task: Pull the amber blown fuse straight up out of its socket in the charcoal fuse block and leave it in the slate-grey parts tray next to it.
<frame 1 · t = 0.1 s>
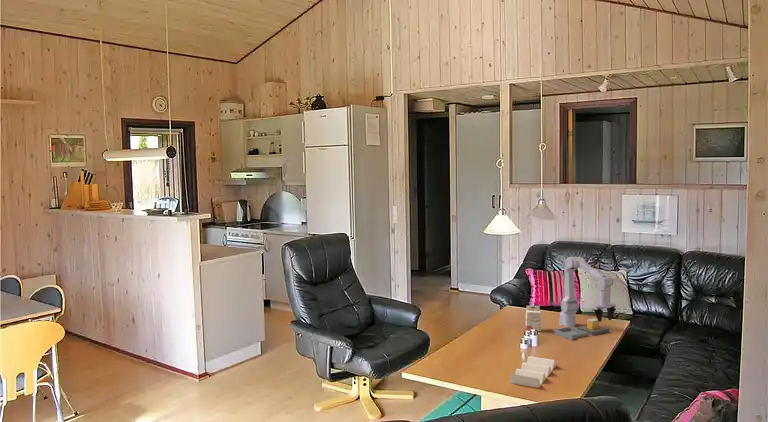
hand: (604, 320, 350), 10 cm above the table, fingers open, 7 cm apart
parts tray: (570, 335, 355), on the table
ink cartridge box: (533, 330, 368), on the table
fuse block: (592, 332, 361), on the table
file organizer: (534, 375, 293), on the table
fuse: (592, 331, 361), point 1 cm above the table, touching fuse block
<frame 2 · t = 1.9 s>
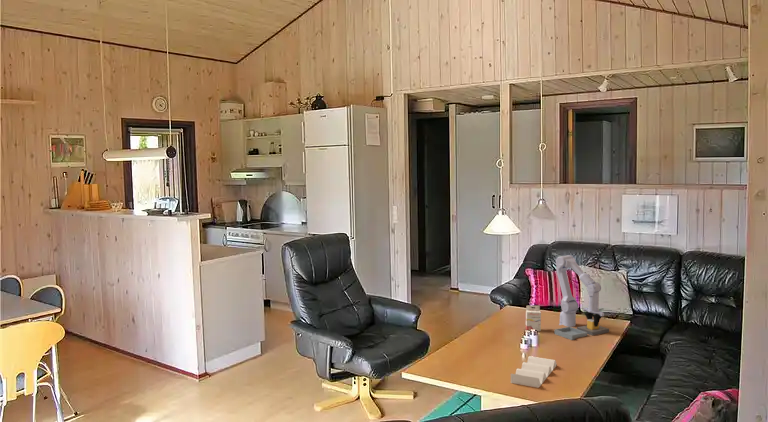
hand: (593, 325, 360), 4 cm above the table, fingers closed on fuse, 4 cm apart
fuse: (592, 331, 361), point 1 cm above the table, touching fuse block, gripper
everything else where it was.
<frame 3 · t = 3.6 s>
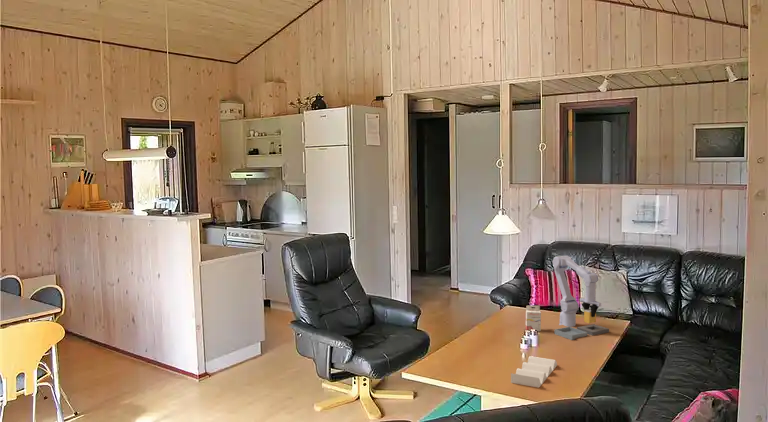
hand: (590, 315, 359), 10 cm above the table, fingers closed on fuse, 4 cm apart
fuse: (590, 321, 359), point 7 cm above the table, touching gripper
everything else where it was.
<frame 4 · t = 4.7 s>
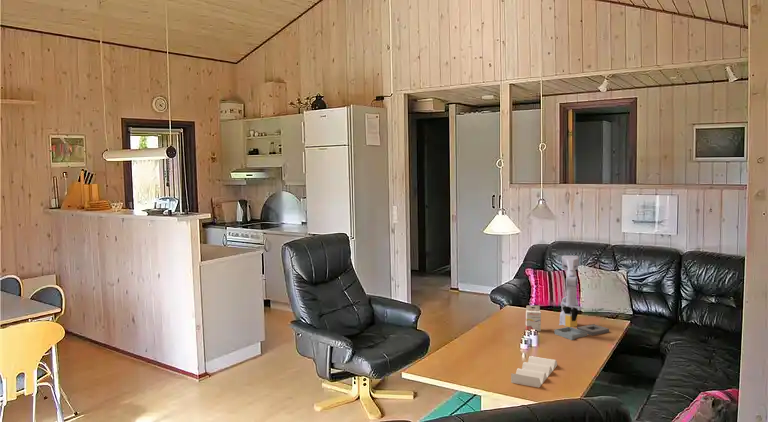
hand: (571, 319, 354), 9 cm above the table, fingers closed on fuse, 4 cm apart
fuse: (571, 325, 355), point 6 cm above the table, touching gripper
everything else where it was.
when the fingers open (6 cm above the table, at t = 5.7 s): fuse drops 1 cm, resting on parts tray.
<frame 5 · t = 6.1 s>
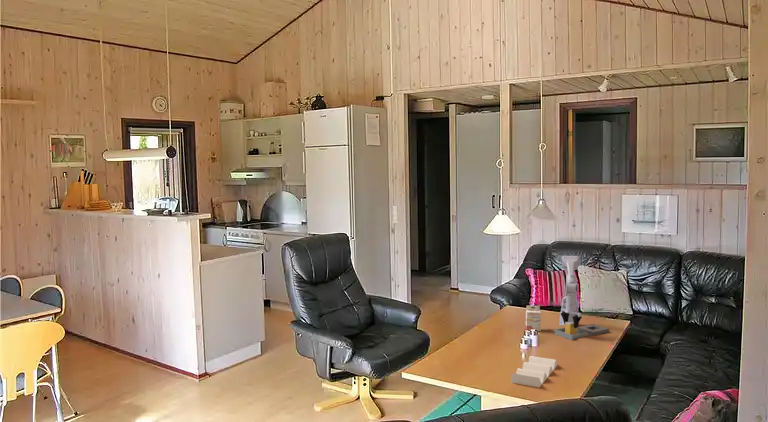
hand: (570, 326, 355), 6 cm above the table, fingers open, 7 cm apart
fuse: (570, 334, 355), point 1 cm above the table, touching parts tray
everything else where it was.
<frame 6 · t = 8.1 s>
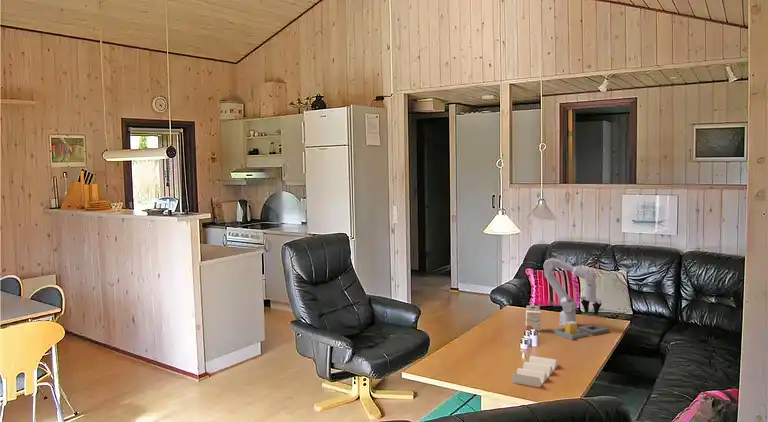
hand: (591, 313, 367), 10 cm above the table, fingers open, 7 cm apart
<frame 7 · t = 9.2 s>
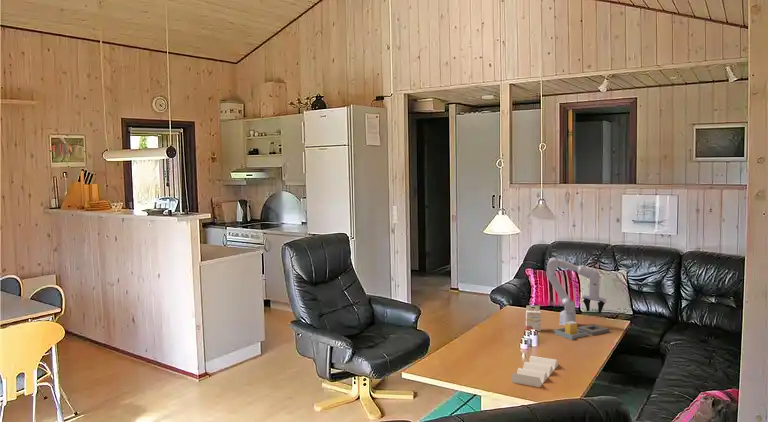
hand: (593, 312, 370), 10 cm above the table, fingers open, 7 cm apart
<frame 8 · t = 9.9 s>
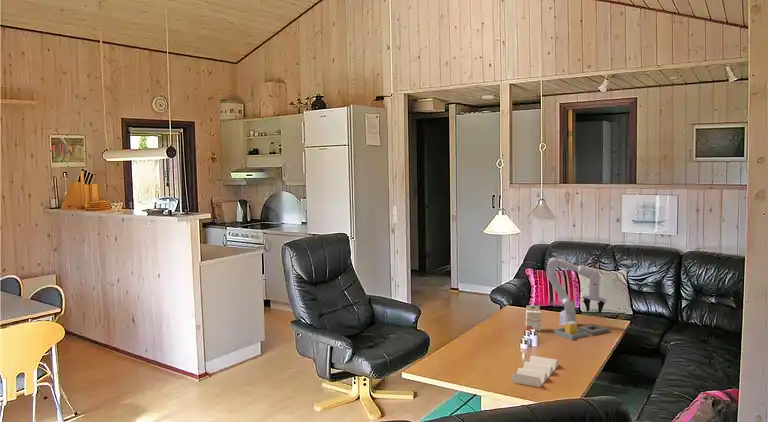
hand: (593, 312, 370), 10 cm above the table, fingers open, 7 cm apart
at the end: fuse inside the target area on the parts tray (0.1 cm from its centre), point 0.8 cm above the parts tray's base; fuse moved 16.0 cm from its start; the gripper is holding nothing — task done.
